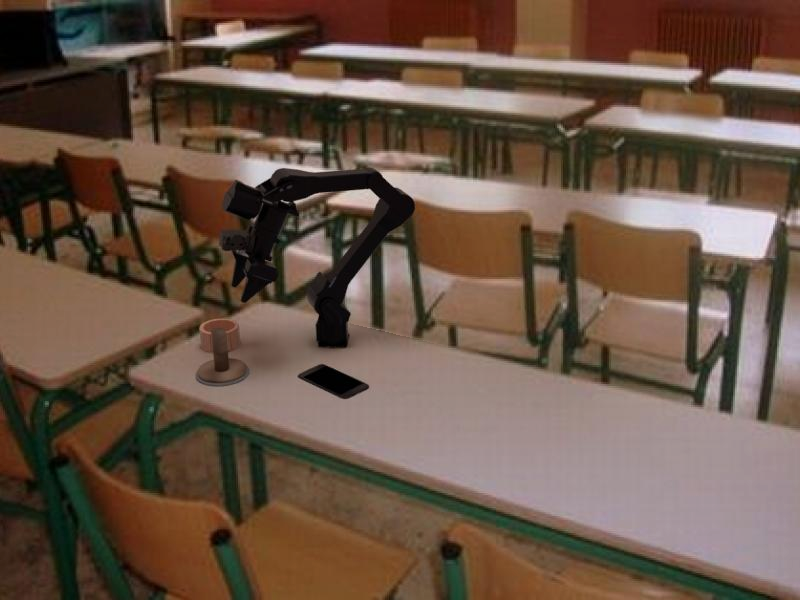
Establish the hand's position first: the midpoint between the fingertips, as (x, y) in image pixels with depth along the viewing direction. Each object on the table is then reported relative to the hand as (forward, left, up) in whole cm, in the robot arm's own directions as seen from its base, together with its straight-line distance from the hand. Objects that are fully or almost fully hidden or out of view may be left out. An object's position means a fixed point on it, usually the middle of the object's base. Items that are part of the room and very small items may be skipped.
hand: (238, 294), depth 201 cm
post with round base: (+3, +8, -14) cm, 17 cm away
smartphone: (-21, +11, -15) cm, 28 cm away
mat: (+3, +8, -15) cm, 17 cm away
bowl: (+6, -6, -15) cm, 17 cm away
